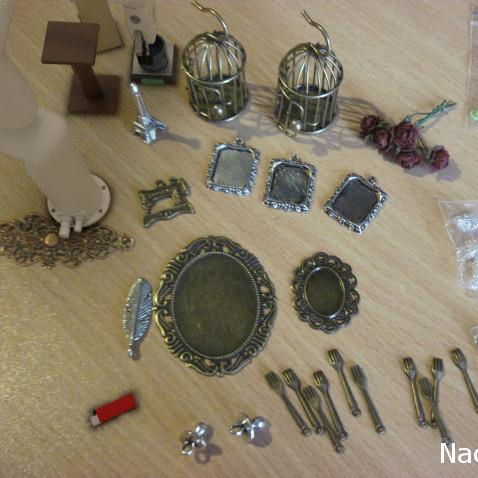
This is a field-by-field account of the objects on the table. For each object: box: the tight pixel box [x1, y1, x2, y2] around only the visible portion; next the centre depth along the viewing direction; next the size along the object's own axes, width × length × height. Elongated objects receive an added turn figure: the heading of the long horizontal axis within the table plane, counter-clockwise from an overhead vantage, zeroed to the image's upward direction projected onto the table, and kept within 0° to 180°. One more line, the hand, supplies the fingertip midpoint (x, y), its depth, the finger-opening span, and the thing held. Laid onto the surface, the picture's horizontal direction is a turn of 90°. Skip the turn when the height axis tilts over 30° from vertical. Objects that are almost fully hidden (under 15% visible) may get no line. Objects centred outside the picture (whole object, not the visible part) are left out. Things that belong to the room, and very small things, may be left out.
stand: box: [40, 20, 120, 115], centre depth 119 cm, size 10×10×18 cm
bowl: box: [133, 33, 168, 70], centre depth 128 cm, size 7×7×5 cm
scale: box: [129, 43, 178, 86], centre depth 131 cm, size 11×10×3 cm
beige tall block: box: [69, 0, 123, 53], centre depth 124 cm, size 8×7×21 cm
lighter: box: [89, 392, 137, 427], centre depth 103 cm, size 3×1×8 cm
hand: (148, 47), depth 125 cm, fingers open, 9 cm apart
